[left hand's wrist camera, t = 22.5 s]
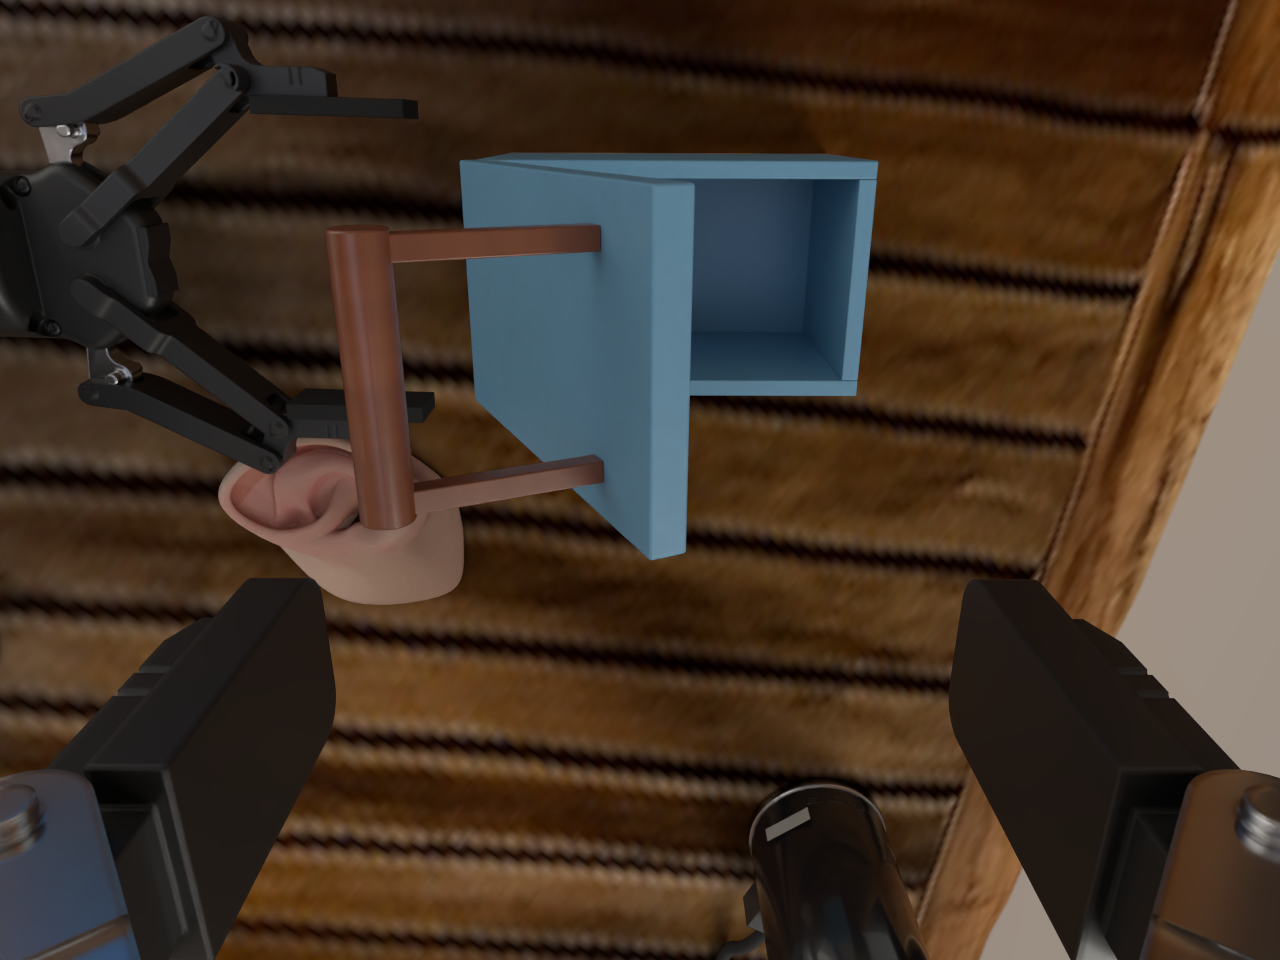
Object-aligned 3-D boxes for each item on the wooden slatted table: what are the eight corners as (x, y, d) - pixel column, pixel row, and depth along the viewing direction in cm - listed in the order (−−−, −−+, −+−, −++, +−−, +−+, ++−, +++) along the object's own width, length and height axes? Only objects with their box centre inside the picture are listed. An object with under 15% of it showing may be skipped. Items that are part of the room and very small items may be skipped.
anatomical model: (487, 603, 51) (313, 672, 52) (498, 571, 54) (335, 636, 56) (371, 397, 46) (185, 480, 48) (391, 378, 50) (217, 454, 52)
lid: (696, 182, 21) (341, 191, 18) (687, 554, 25) (389, 618, 21) (487, 159, 35) (268, 162, 32) (500, 397, 39) (305, 421, 36)
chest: (827, 153, 46) (879, 160, 36) (812, 342, 49) (856, 396, 39) (511, 152, 46) (475, 158, 36) (519, 341, 49) (489, 395, 39)
